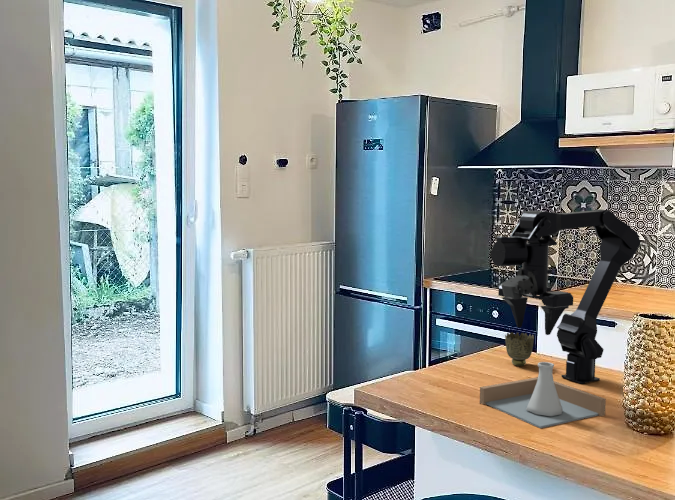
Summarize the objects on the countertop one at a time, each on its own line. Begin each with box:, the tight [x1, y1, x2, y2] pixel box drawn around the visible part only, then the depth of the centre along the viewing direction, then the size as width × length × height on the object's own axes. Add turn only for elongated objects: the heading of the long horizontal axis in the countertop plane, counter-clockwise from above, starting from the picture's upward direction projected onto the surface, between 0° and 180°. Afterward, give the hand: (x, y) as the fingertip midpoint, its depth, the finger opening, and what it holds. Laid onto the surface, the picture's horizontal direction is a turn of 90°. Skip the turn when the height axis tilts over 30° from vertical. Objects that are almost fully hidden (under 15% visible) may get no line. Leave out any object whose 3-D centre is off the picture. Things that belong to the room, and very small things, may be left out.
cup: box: [504, 331, 535, 367], centre depth 170 cm, size 8×7×8 cm
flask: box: [526, 361, 563, 416], centre depth 132 cm, size 7×7×10 cm
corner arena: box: [479, 376, 607, 429], centre depth 135 cm, size 18×18×4 cm
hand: (533, 330), depth 151 cm, fingers open, 9 cm apart
